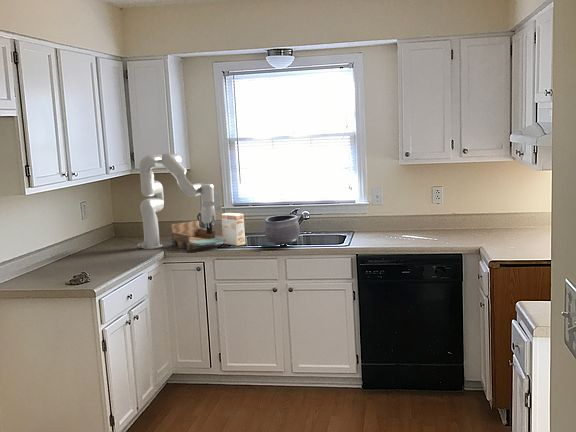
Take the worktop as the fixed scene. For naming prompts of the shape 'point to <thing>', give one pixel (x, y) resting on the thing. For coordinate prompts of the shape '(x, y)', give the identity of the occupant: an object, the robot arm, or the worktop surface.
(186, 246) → the shelf
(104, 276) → the worktop surface
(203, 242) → the tailgate
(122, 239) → the worktop surface
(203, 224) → the moka pot
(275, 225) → the tea bowl
